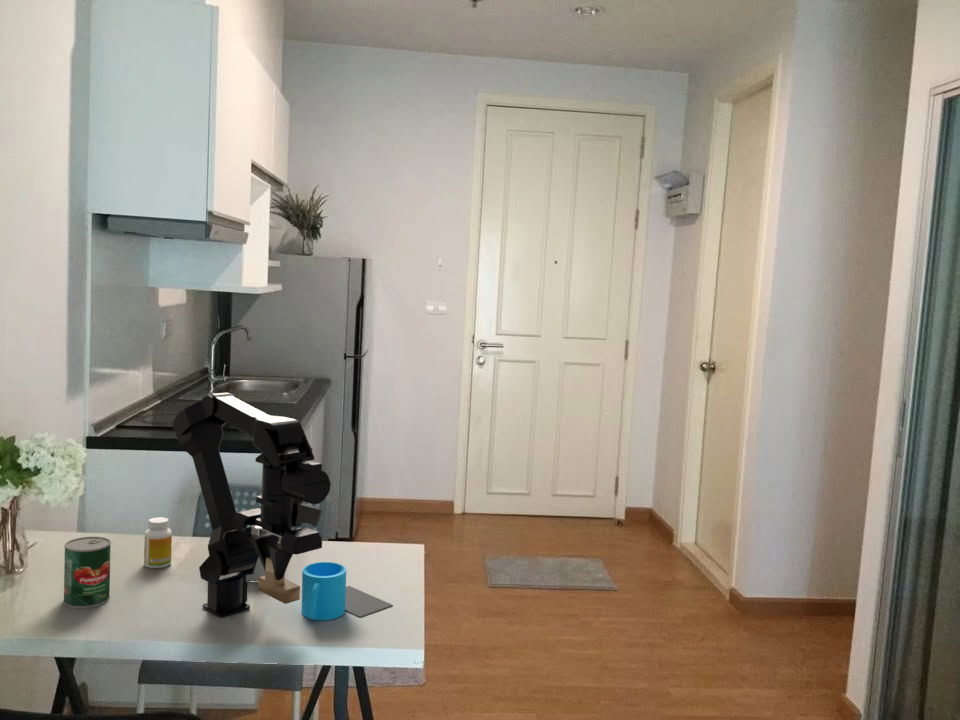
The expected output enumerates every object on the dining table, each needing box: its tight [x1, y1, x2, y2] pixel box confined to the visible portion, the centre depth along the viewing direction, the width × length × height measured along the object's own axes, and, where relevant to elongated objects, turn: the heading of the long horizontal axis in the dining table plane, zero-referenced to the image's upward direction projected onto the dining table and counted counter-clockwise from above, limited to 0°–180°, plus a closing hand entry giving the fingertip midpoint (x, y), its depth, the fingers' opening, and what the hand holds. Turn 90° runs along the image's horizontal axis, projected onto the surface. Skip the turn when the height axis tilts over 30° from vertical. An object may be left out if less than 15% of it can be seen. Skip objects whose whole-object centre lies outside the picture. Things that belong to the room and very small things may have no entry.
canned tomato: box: [63, 536, 112, 609], centre depth 157 cm, size 8×8×11 cm
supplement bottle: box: [143, 516, 173, 569], centre depth 178 cm, size 5×5×10 cm
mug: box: [301, 561, 347, 621], centre depth 157 cm, size 12×8×8 cm
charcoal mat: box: [345, 585, 393, 618], centre depth 165 cm, size 8×13×1 cm, turn 49°
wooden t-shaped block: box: [257, 557, 301, 605], centre depth 149 cm, size 4×8×7 cm, turn 49°
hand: (274, 577), depth 148 cm, fingers closed on wooden t-shaped block, 2 cm apart
